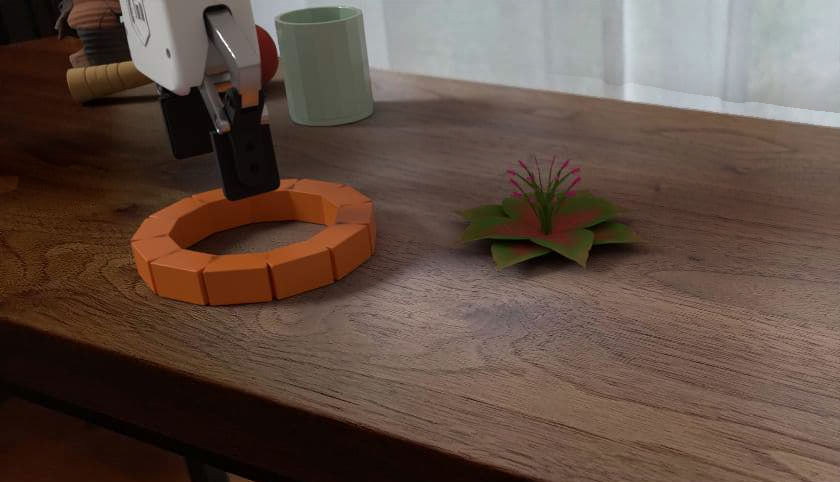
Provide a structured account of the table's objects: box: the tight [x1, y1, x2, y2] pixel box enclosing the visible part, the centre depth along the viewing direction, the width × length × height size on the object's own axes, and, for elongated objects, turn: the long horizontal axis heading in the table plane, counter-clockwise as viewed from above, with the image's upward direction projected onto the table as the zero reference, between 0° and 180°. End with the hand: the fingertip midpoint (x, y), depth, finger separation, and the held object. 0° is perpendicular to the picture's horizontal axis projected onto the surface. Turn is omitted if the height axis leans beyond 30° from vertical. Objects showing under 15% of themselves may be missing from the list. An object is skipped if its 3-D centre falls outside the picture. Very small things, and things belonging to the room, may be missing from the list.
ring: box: [130, 178, 378, 307], centre depth 57 cm, size 13×13×2 cm
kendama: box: [66, 23, 280, 104], centre depth 88 cm, size 8×6×18 cm
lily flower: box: [449, 154, 650, 272], centre depth 57 cm, size 12×12×5 cm
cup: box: [274, 5, 375, 127], centre depth 80 cm, size 7×7×8 cm
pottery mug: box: [54, 0, 133, 69], centre depth 100 cm, size 12×10×8 cm
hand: (224, 173), depth 60 cm, fingers open, 9 cm apart
